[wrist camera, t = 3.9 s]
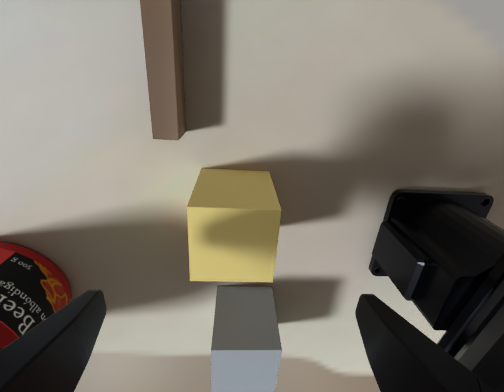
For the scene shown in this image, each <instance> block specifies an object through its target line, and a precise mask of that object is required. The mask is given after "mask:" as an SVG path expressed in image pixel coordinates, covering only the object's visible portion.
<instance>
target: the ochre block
mask: <svg viewBox="0 0 504 392" xmlns="http://www.w3.org/2000/svg"><path fill="white" fill-rule="evenodd" d="M281 211H282V210H281V207H280V204H279V200H278V197H277V194H276V191H275V188H274V185H273V182H272V179H271V176H270V172H269V171H249V170H227V169H206V168H201V171H200V174H199V176H198V179H197V182H196V184H195V187H194V190H193V192H192V195H191V198H190V200H189V203H188V205H187V220H188V244H189V268H190V281H221V282H273V275H274V267H275V259H276V251H277V243H278V235H279V227H280V219H281Z"/></svg>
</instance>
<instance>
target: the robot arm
mask: <svg viewBox="0 0 504 392" xmlns="http://www.w3.org/2000/svg"><path fill="white" fill-rule="evenodd" d="M400 196H402V198H401V199H400V200H398V198H399V197H400ZM397 200H398V201H397ZM483 200H484V201H483ZM482 201H483V202H482ZM493 201H494V200H493V197H492V196H490V195H488V194H486V193H473V192H447V191H422V190H396V191H394V192H393V193H392V195H391V196H390V200H389V203H388V206H387V209H386V213H385V216H384V219H383V222H382V223H381V225H380V229H379V232H378V235H377V238H376V242H375V245H374V248H373V252H372V258H371V262H370V265H369V270H370V272H371V273H372V274H373V275H374V276H389V278H390V279H391V281H392V282H393V283H394V285H395V286H396V287H397V289H398V290H399V291H400V293H401V294H402V296H403V297H404V298H405V299H406V300H410V301H413V303H414V304H415V305H416V307H417V308H418V309H419V311H420V312H421V313H422V315H423V316H424V317H425V318H426V320H427V321H428V322H429V324H430V325H431V326H432V328H433V329H434V330H446V332H445V334H444V335H443V336H442V338H441V339H440V340H439V342H438V343H437V344H436V343H435V342H433V341H432V340H431V339H429V338H428V337H427V336H426V335H424V334H423V333H422V332H421V331H419V330H418V329H417V328H415V327H414V326H413V325H412V324H410V323H409V322H408V321H407V320H405V319H404V318H403V317H401V316H400V315H399V314H398V313H396V312H395V311H394V310H393V309H391V308H390V307H389V306H387V305H386V304H385V303H384V302H382V301H381V300H380V299H379V298H377V297H376V296H375V295H373V294H362V295H361V296H360V298H359V301H358V304H357V308H356V319H357V322H358V326H359V329H360V333H361V336H362V340H363V343H364V347H365V350H366V354H367V357H368V360H369V363H370V366H371V368H372V371H373V373H374V376H375V379H376V381H377V384H378V386H379V389H380V391H381V392H504V230H503V229H502V228H500V227H498V226H497V225H495V224H493V223H492V222H490V221H488V220H486V219H485V218H486V216H487V214H488V212H489V210H490V208H491V206H492V204H493ZM376 268H378V269H376ZM105 315H106V303H105V299H104V294H103V292H102V291H101V290H88V291H86V292H84V293H83V294H82V295H80V296H79V297H77V298H76V299H74V300H73V301H71V302H70V303H68V304H67V305H66V306H64V307H63V308H61V309H60V310H58V311H57V312H55V313H54V314H53V315H51V316H50V317H48V318H47V319H45V320H44V321H42V322H41V323H39V324H38V325H37V326H35V327H34V328H32V329H31V330H29V331H28V332H26V333H25V334H23V335H22V336H21V337H19V338H18V339H16V340H15V341H13V342H12V343H10V344H9V345H7V346H6V347H5V348H3V349H2V350H0V392H74V390H75V388H76V386H77V384H78V382H79V380H80V378H81V376H82V374H83V371H84V369H85V367H86V365H87V363H88V361H89V358H90V356H91V353H92V350H93V348H94V345H95V342H96V339H97V337H98V334H99V331H100V329H101V326H102V323H103V320H104V318H105Z"/></svg>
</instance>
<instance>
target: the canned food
mask: <svg viewBox="0 0 504 392" xmlns="http://www.w3.org/2000/svg"><path fill="white" fill-rule="evenodd" d="M70 298H71V290H70V286H69V283H68V280H67V279H66V277H65V276H64V274H63V273H62V272H61V271H60V270H59V268H58V267H57V266H56V265H55V264H53V263H52V262H51V261H49V260H48V259H47V258H45V257H44V256H42V255H40V254H38V253H37V252H35V251H32V250H30V249H27V248H25V247H22V246H19V245H15V244H11V243H4V242H0V350H2V349H3V348H5V347H6V346H7V345H9V344H10V343H12V342H13V341H15V340H16V339H18V338H19V337H21V336H22V335H23V334H25V333H26V332H28V331H29V330H31V329H32V328H34V327H35V326H37V325H38V324H39V323H41V322H42V321H44V320H45V319H47V318H48V317H50V316H51V315H53V314H54V313H55V312H57V311H58V310H60V309H61V308H63V307H64V306H66V305H67V304H68V303H69V302H70Z"/></svg>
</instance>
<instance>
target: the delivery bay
mask: <svg viewBox="0 0 504 392" xmlns="http://www.w3.org/2000/svg"><path fill="white" fill-rule="evenodd" d="M140 5H141V15H142V26H143V37H144V47H145V58H146V69H147V79H148V90H149V101H150V111H151V122H152V133H153V139H164V140H179V139H180V138H181V137H182V136H183V135H184V133H185V132H186V122H185V98H184V75H183V51H182V27H181V3H180V0H140Z"/></svg>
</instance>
